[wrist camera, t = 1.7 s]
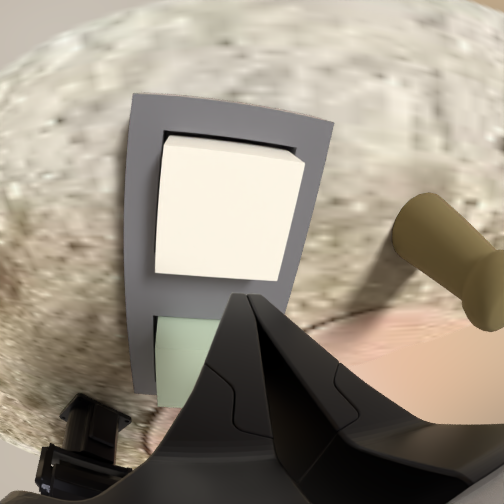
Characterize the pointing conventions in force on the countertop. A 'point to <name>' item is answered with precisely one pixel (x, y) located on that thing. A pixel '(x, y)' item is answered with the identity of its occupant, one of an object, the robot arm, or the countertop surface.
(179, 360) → the sage key
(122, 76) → the countertop surface
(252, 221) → the cream key
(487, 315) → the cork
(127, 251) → the key panel
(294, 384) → the robot arm
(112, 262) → the countertop surface
